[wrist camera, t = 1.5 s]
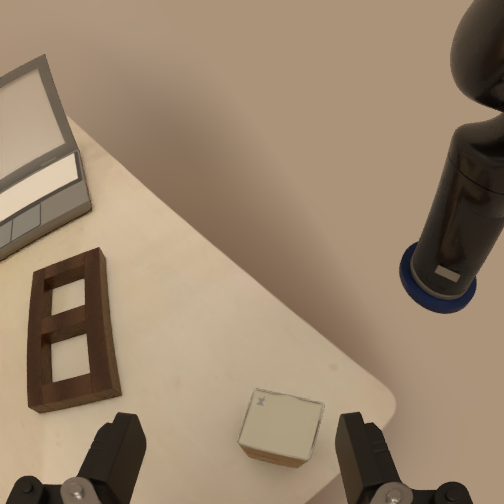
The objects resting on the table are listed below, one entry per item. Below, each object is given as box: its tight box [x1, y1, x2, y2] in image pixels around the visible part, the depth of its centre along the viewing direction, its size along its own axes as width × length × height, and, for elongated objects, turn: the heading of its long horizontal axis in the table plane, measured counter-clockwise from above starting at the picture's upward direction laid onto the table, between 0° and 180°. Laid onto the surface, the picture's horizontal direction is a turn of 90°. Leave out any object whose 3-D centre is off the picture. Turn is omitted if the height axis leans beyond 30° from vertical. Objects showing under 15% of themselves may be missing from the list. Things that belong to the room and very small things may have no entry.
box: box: [237, 388, 325, 468], centre depth 23 cm, size 5×4×11 cm
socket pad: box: [27, 247, 122, 413], centre depth 37 cm, size 12×22×2 cm, turn 20°
